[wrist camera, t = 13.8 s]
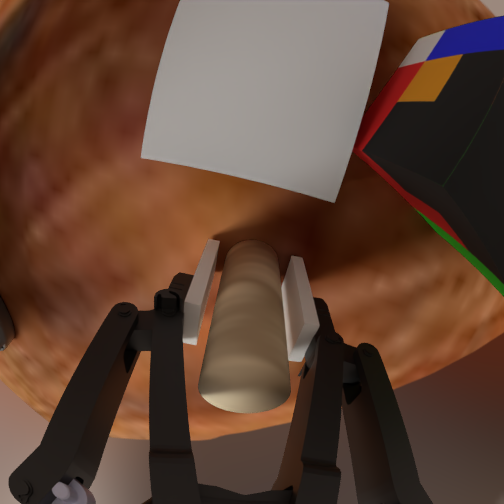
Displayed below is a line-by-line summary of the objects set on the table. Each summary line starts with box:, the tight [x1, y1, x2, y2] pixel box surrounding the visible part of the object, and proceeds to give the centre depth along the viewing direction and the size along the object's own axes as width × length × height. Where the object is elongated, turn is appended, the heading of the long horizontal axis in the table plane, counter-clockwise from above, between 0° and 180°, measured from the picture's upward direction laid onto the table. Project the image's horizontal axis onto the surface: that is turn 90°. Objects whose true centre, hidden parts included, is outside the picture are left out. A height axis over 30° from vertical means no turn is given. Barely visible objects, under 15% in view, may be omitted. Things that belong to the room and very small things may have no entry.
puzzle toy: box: [352, 16, 504, 296], centre depth 9 cm, size 10×10×10 cm
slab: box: [141, 0, 389, 203], centre depth 11 cm, size 10×12×4 cm
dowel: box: [198, 240, 291, 413], centre depth 14 cm, size 4×4×10 cm
